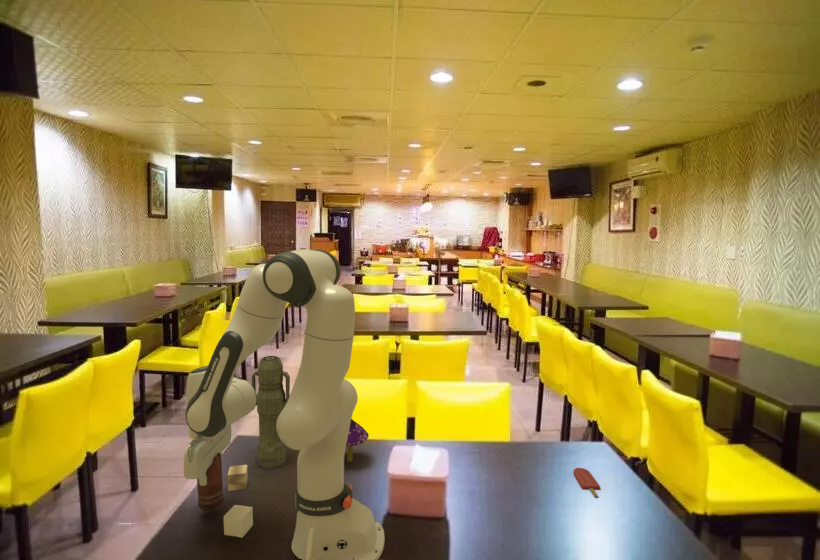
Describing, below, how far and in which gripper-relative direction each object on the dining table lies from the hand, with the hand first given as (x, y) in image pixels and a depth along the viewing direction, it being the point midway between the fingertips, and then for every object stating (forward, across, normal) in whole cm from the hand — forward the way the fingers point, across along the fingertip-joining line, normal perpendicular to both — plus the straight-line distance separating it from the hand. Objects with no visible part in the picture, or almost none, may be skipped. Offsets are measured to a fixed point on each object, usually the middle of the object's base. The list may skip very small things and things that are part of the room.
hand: (210, 476), depth 123 cm
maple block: (+11, +14, -1) cm, 18 cm away
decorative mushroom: (+11, +29, -32) cm, 45 cm away
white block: (+11, -6, -9) cm, 16 cm away
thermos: (+11, +28, -7) cm, 31 cm away
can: (+8, 0, 0) cm, 8 cm away
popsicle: (+13, +19, -106) cm, 109 cm away
